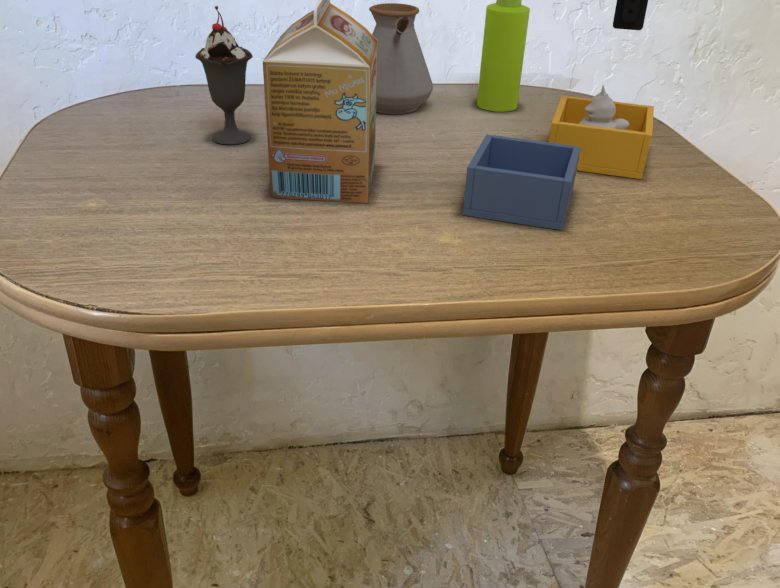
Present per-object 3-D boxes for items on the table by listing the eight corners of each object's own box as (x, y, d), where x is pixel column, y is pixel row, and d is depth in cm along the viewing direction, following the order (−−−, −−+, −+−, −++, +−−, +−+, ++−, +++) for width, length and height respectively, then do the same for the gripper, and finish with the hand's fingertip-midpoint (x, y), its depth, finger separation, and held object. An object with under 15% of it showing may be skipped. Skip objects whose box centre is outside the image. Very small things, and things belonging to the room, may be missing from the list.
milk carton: (286, 162, 92) (278, -15, 81) (374, 166, 92) (378, -10, 80) (270, 197, 84) (259, 6, 72) (367, 203, 84) (371, 11, 72)
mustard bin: (644, 147, 101) (654, 106, 97) (641, 179, 92) (652, 135, 89) (555, 135, 103) (561, 95, 100) (544, 166, 94) (551, 122, 91)
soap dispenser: (529, 110, 111) (552, -47, 99) (483, 112, 110) (500, -48, 98) (515, 98, 116) (535, -54, 104) (471, 100, 114) (486, -55, 102)
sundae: (230, 125, 102) (219, 0, 93) (268, 137, 99) (260, 9, 90) (193, 138, 97) (177, 8, 88) (231, 151, 94) (219, 18, 85)
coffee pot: (351, 93, 115) (351, -20, 106) (427, 94, 116) (434, -17, 107) (354, 143, 98) (355, 15, 89) (444, 144, 99) (454, 17, 90)
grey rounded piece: (566, 142, 99) (578, 77, 94) (616, 143, 99) (630, 78, 94) (577, 157, 95) (589, 90, 90) (629, 158, 95) (644, 91, 90)
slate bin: (572, 192, 88) (581, 146, 85) (562, 230, 80) (571, 181, 77) (481, 179, 90) (486, 134, 87) (462, 215, 82) (467, 166, 79)
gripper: (705, -165, 70) (662, 39, 80) (699, -166, 83) (663, 8, 93) (620, -167, 71) (589, 33, 81) (628, -168, 85) (600, 4, 95)
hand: (629, 20), depth 87 cm, fingers open, 9 cm apart
